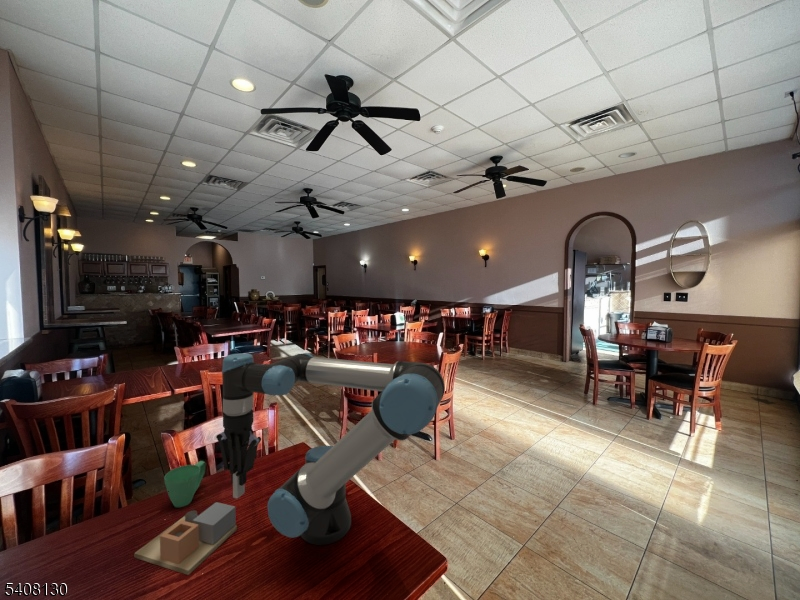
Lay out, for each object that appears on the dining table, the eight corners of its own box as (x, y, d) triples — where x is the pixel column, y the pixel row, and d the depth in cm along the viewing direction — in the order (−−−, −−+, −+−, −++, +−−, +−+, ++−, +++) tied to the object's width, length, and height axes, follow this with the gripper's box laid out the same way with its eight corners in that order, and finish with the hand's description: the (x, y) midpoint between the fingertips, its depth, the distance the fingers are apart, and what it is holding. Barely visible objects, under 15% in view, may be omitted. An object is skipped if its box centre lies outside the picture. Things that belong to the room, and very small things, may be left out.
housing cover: (235, 524, 97) (235, 506, 97) (213, 544, 89) (213, 525, 89) (216, 519, 99) (216, 501, 99) (192, 538, 91) (192, 520, 91)
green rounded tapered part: (184, 514, 103) (184, 483, 102) (156, 511, 104) (156, 480, 104) (216, 486, 117) (216, 458, 117) (191, 483, 119) (191, 456, 118)
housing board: (236, 529, 97) (236, 509, 97) (188, 575, 81) (188, 551, 81) (188, 516, 102) (188, 497, 101) (134, 557, 86) (134, 535, 86)
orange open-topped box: (198, 546, 89) (198, 524, 89) (178, 564, 83) (178, 541, 83) (181, 541, 91) (181, 520, 90) (160, 558, 85) (160, 535, 85)
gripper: (267, 408, 92) (268, 491, 93) (229, 403, 95) (229, 483, 96) (248, 419, 85) (249, 508, 86) (207, 413, 88) (208, 499, 89)
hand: (238, 495), depth 91 cm, fingers closed
